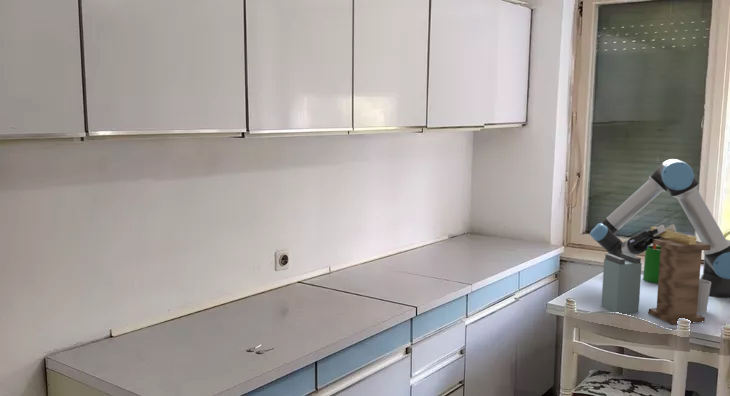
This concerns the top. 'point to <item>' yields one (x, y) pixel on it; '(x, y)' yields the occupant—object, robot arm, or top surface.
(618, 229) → the robot arm
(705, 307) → the cup
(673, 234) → the brass bar
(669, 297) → the walnut stand
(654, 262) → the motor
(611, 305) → the block
